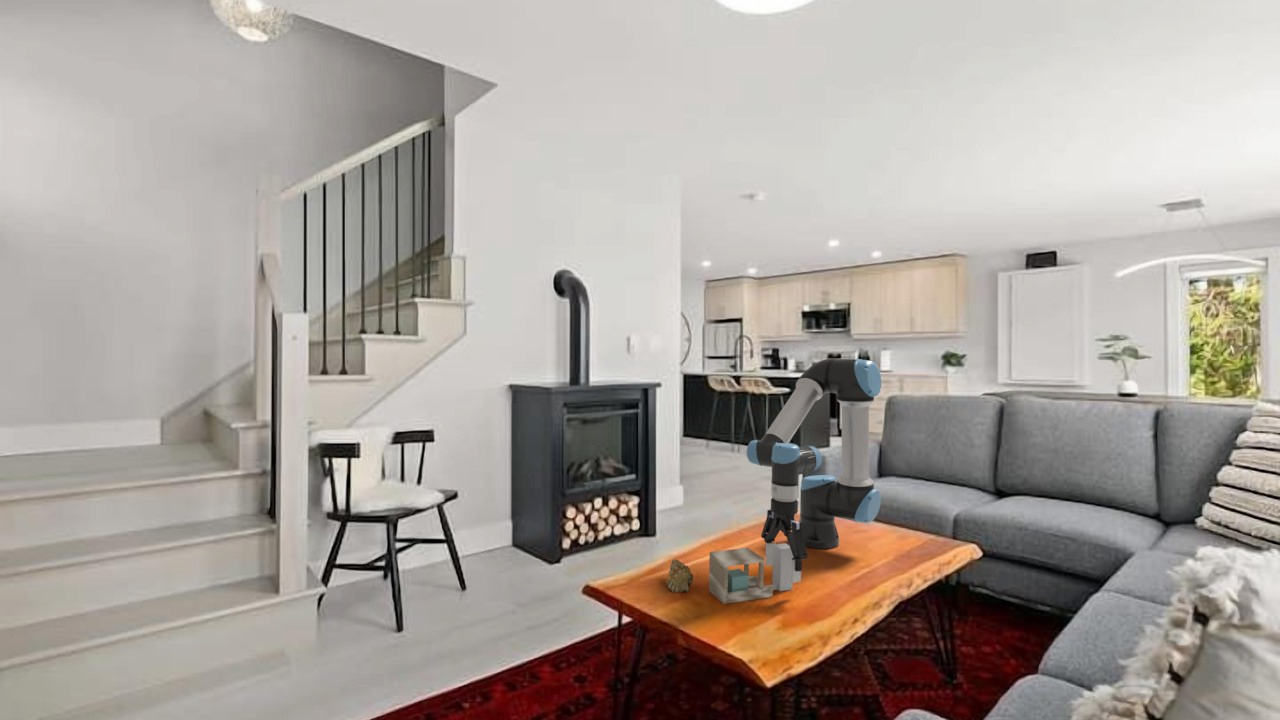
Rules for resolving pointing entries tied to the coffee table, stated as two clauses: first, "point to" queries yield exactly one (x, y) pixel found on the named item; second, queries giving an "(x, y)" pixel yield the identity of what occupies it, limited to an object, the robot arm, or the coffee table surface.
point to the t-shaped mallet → (780, 572)
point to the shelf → (720, 575)
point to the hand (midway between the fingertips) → (782, 573)
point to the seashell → (679, 577)
